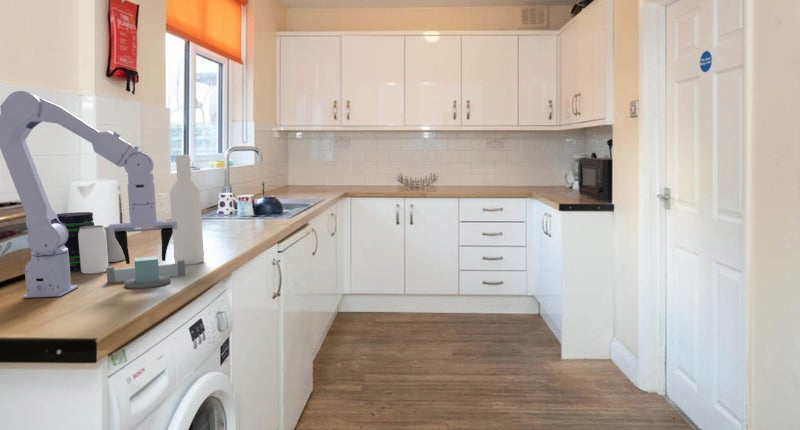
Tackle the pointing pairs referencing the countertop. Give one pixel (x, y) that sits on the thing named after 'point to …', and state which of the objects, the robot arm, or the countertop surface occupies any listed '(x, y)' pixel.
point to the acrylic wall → (129, 273)
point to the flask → (113, 247)
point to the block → (146, 269)
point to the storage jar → (75, 234)
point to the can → (93, 249)
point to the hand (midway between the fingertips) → (146, 261)
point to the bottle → (186, 215)
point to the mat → (147, 283)
